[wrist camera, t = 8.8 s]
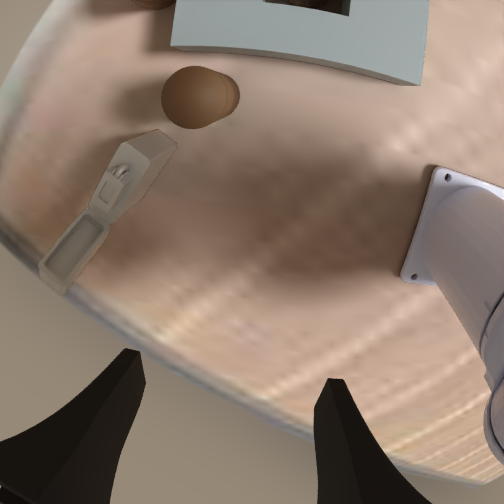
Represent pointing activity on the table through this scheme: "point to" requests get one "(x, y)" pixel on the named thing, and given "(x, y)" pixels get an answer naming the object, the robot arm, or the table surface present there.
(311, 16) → the socket block
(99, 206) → the lighter
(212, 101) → the medium dowel
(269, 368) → the table surface
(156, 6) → the short dowel
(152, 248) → the table surface
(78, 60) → the table surface
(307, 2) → the tall dowel
